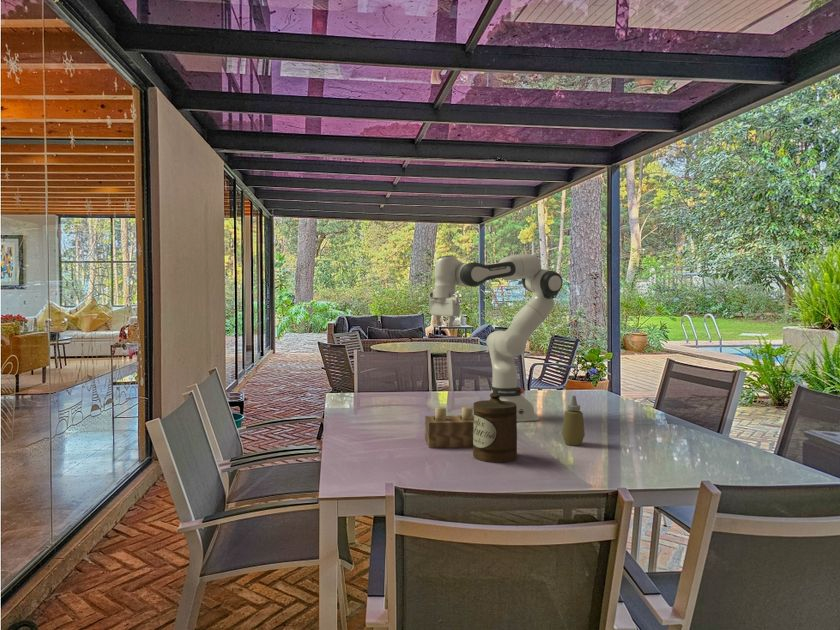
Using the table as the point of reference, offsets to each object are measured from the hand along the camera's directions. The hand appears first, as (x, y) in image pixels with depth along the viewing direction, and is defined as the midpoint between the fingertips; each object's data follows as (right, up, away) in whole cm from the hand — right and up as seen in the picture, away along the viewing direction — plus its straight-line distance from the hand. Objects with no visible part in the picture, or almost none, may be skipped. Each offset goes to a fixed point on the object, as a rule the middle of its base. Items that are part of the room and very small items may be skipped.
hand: (444, 326), depth 244 cm
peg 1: (-3, -38, -30) cm, 48 cm away
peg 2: (+7, -38, -29) cm, 48 cm away
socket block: (+2, -43, -29) cm, 52 cm away
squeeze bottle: (+47, -43, -29) cm, 70 cm away
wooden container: (+15, -44, -47) cm, 66 cm away
